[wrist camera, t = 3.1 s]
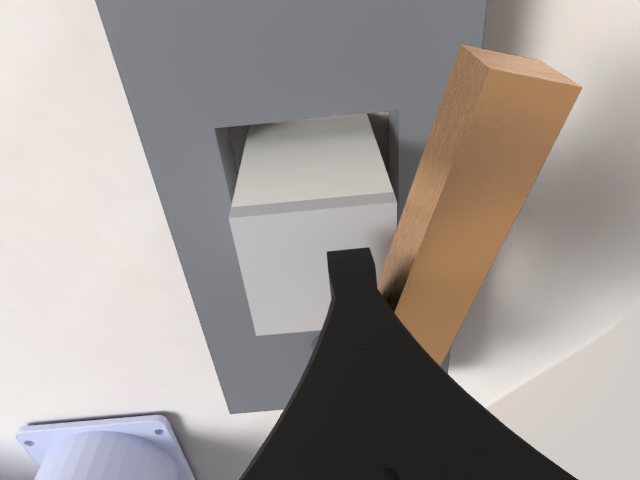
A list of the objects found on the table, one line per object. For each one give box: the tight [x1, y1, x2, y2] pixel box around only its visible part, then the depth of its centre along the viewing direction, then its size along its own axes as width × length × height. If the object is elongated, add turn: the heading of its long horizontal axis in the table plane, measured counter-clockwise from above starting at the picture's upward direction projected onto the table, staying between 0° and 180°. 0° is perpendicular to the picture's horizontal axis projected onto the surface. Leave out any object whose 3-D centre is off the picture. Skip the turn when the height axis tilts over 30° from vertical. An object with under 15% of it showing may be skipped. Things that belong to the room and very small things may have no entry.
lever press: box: [95, 0, 487, 414], centre depth 16 cm, size 18×10×7 cm, turn 5°
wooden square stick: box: [377, 44, 583, 366], centre depth 12 cm, size 14×2×2 cm, turn 169°
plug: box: [229, 113, 397, 336], centre depth 15 cm, size 4×4×6 cm
